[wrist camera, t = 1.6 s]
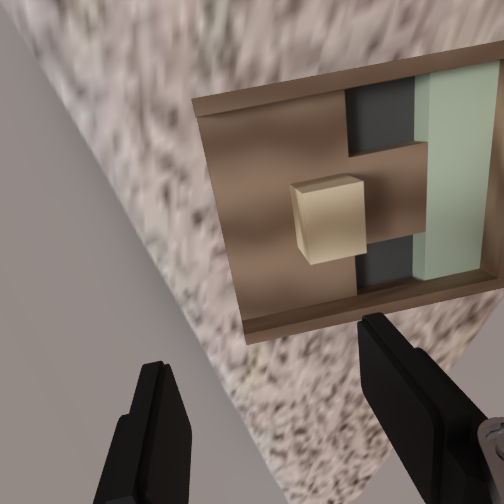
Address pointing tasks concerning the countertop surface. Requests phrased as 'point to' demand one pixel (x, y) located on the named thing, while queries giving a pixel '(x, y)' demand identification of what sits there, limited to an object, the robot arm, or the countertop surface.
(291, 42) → the countertop surface
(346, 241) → the maple block
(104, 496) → the robot arm
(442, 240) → the box
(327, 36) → the countertop surface
